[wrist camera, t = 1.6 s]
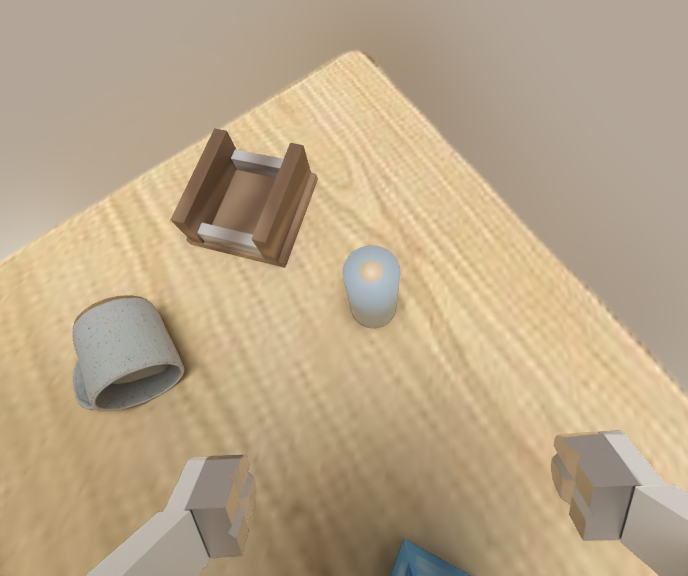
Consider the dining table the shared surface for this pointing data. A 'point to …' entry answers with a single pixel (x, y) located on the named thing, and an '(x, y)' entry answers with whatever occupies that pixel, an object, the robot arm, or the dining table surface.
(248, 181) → the holder
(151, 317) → the ceramic mug
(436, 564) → the perfume bottle
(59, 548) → the dining table surface
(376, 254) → the paper roll
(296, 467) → the dining table surface
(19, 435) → the dining table surface
